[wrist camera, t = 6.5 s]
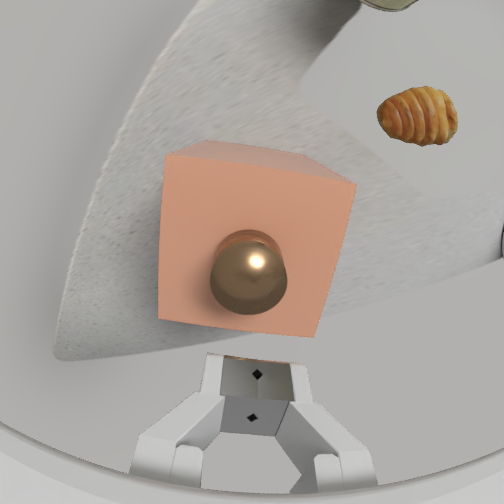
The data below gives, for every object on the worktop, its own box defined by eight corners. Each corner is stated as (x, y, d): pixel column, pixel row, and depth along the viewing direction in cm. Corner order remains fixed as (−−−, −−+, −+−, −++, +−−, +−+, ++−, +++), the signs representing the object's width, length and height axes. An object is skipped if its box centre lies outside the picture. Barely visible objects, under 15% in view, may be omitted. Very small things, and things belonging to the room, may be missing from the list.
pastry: (380, 150, 30) (395, 153, 26) (368, 90, 27) (382, 86, 24) (446, 141, 29) (464, 145, 26) (437, 86, 27) (455, 84, 23)
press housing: (304, 155, 30) (357, 184, 15) (286, 245, 34) (313, 337, 19) (206, 140, 29) (165, 154, 15) (196, 232, 33) (158, 318, 18)
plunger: (301, 171, 25) (350, 216, 13) (284, 256, 28) (308, 353, 16) (208, 157, 24) (170, 189, 12) (198, 244, 27) (165, 335, 16)
